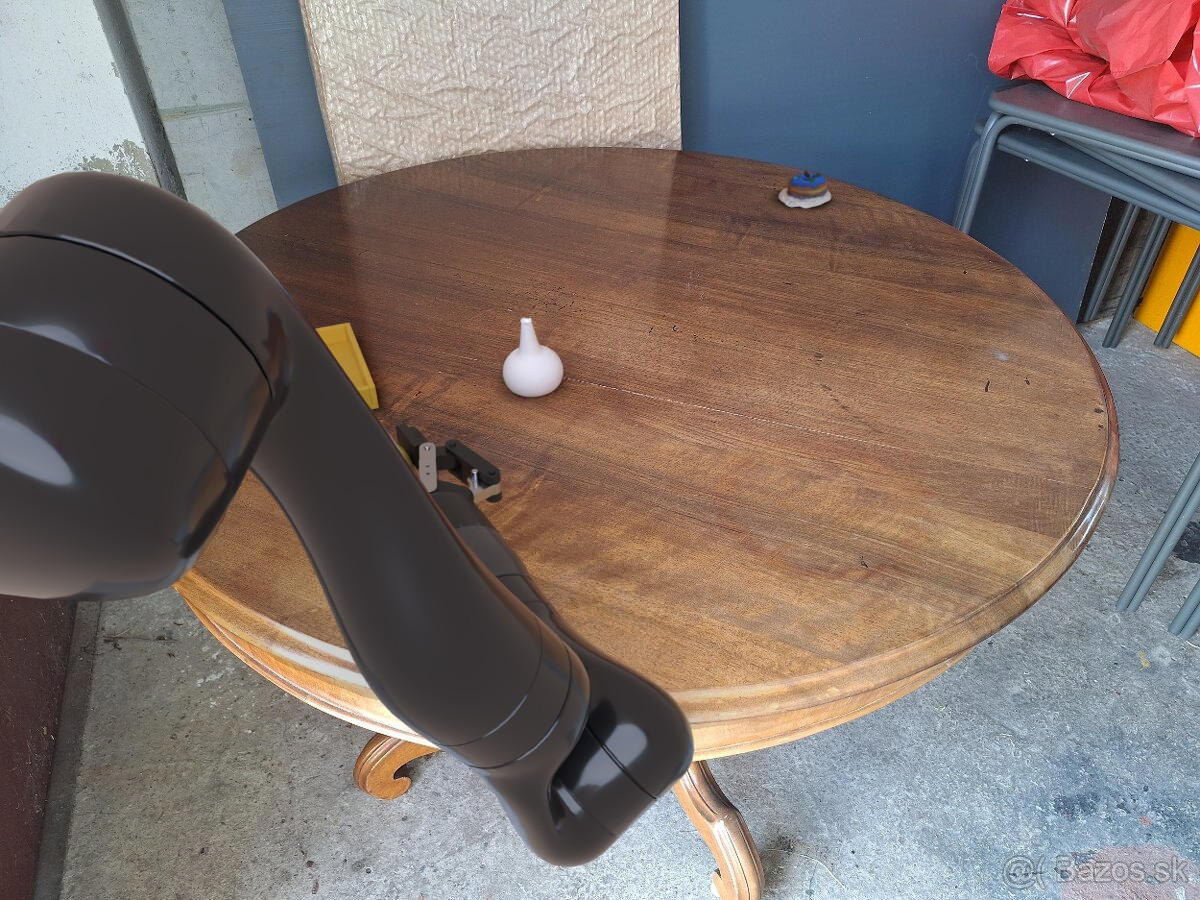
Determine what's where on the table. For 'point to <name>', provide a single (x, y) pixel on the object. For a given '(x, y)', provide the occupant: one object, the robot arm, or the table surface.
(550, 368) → the garlic bulb
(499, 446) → the table surface
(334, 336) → the yellow tray
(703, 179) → the table surface
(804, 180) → the dessert
